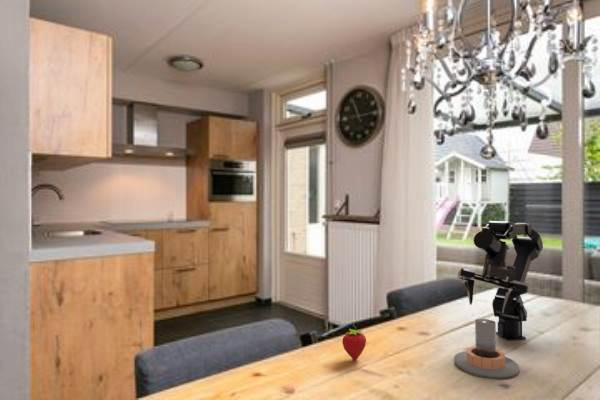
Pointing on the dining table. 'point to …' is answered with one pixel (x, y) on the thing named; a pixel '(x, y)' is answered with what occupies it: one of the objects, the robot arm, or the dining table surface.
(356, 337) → the strawberry
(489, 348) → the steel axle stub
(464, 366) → the slate seat plate
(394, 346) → the dining table surface
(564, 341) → the dining table surface
